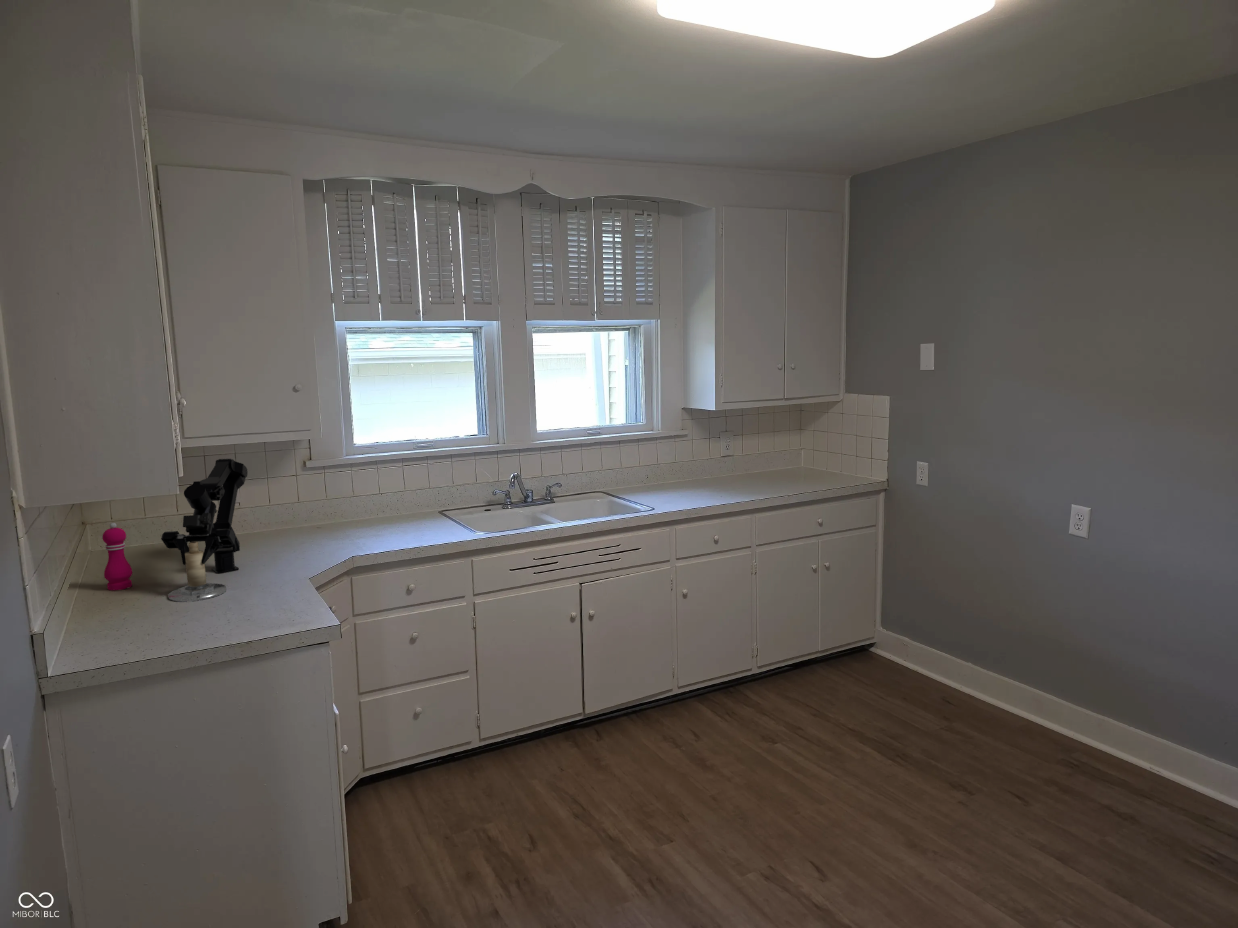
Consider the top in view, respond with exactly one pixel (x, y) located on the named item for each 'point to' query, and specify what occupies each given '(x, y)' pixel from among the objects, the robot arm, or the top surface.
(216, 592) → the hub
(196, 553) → the knob
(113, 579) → the pepper mill
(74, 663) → the top surface
